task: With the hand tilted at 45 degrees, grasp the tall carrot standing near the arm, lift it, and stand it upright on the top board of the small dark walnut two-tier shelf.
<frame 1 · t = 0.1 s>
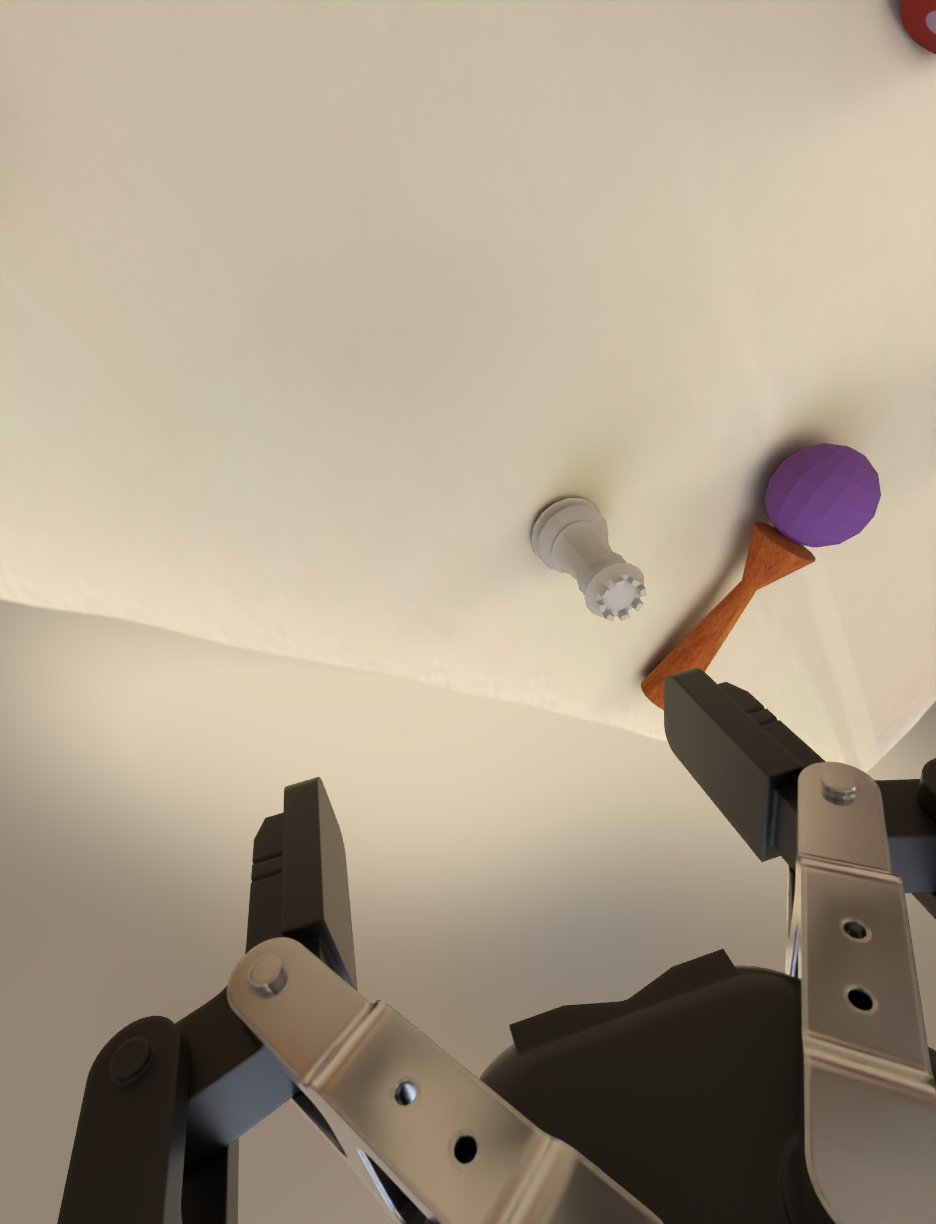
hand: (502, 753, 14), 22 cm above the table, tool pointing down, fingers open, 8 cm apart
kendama: (723, 568, 44), on the table
rook chess piece: (562, 527, 39), on the table
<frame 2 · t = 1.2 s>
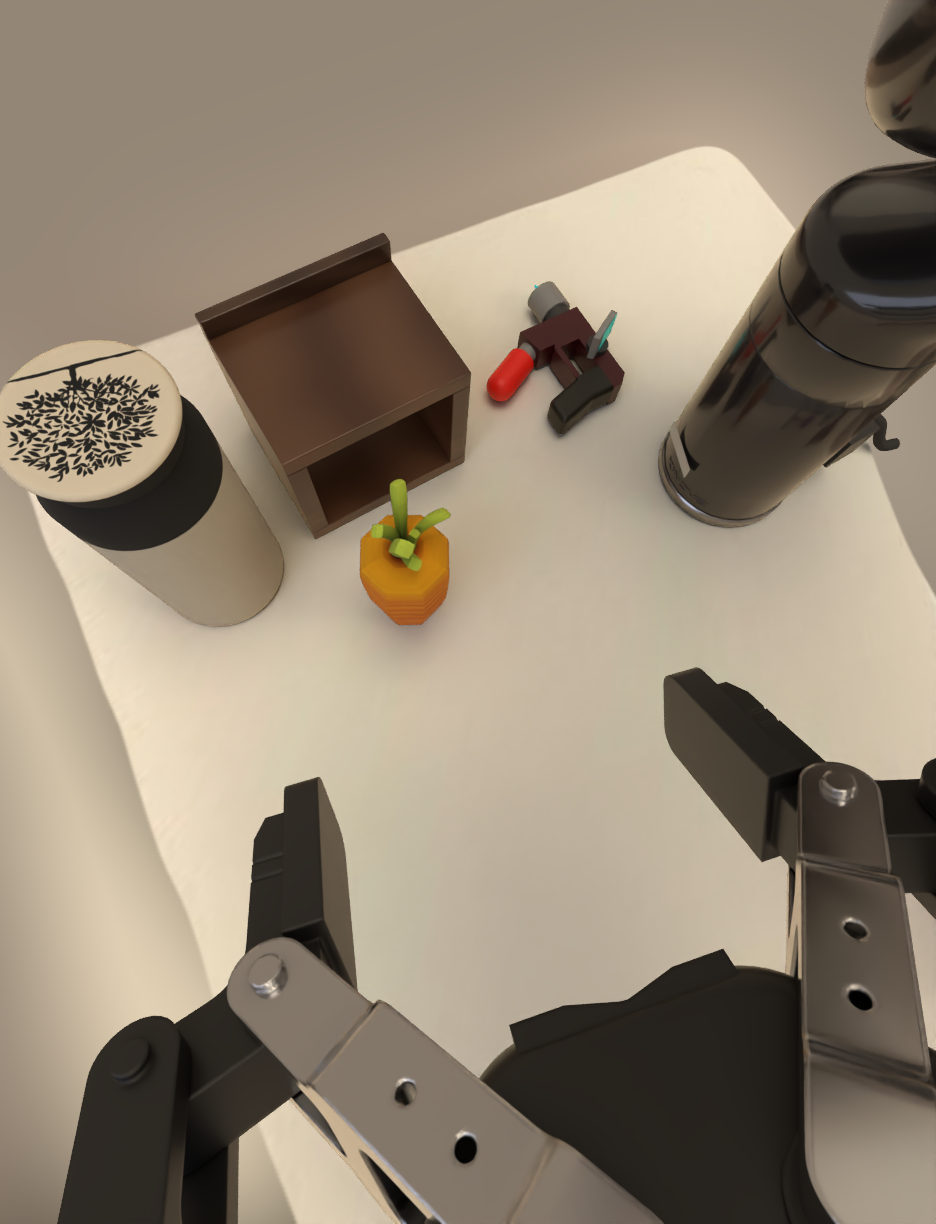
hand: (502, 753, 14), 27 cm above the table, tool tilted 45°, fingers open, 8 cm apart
shelf: (357, 445, 46), on the table
toy gun: (537, 370, 49), on the table
carrot: (412, 614, 43), on the table
travel mug: (225, 571, 43), on the table
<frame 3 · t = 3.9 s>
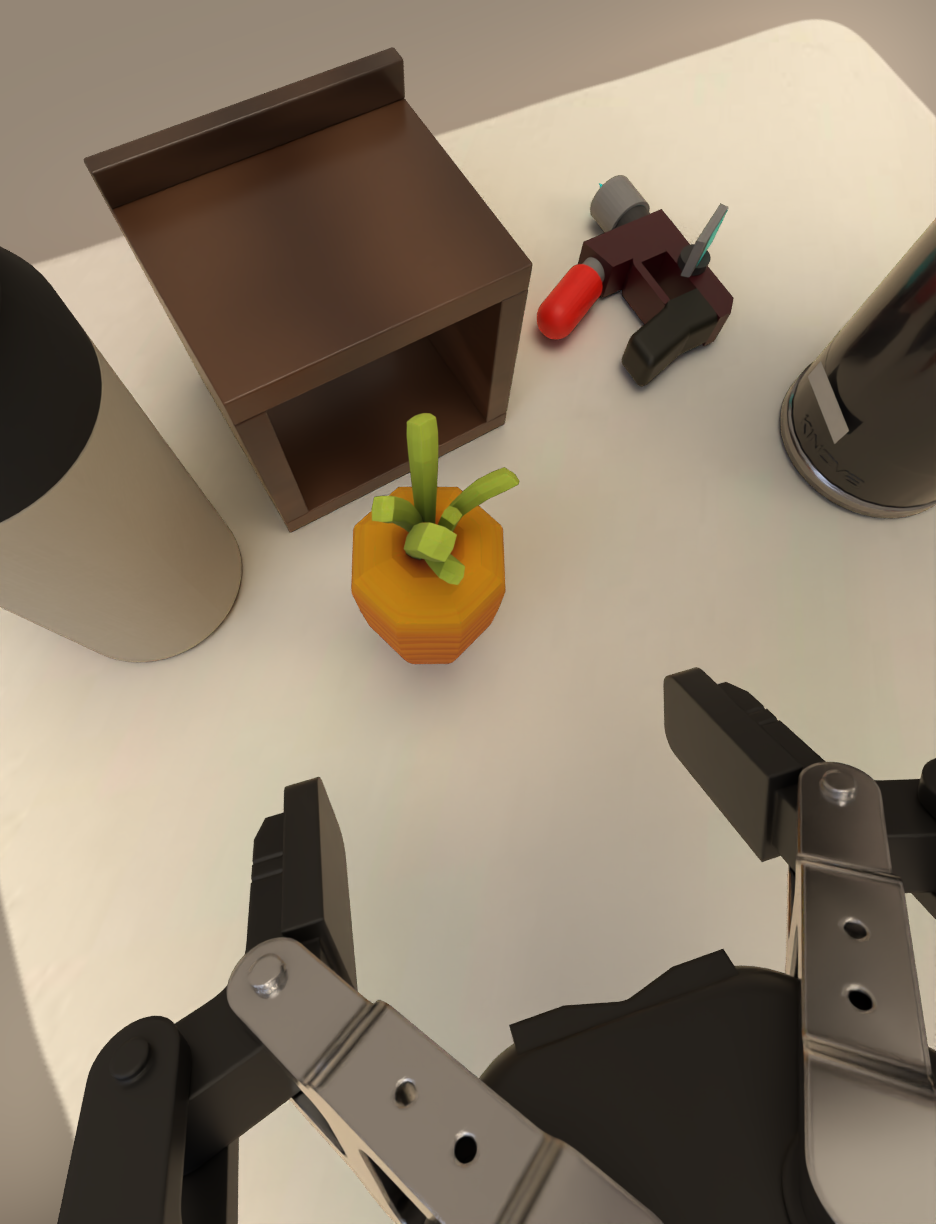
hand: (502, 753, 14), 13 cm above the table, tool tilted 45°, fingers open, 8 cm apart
shelf: (352, 400, 32), on the table
toy gun: (603, 301, 35), on the table
carrot: (431, 644, 29), on the table
travel mug: (156, 579, 29), on the table
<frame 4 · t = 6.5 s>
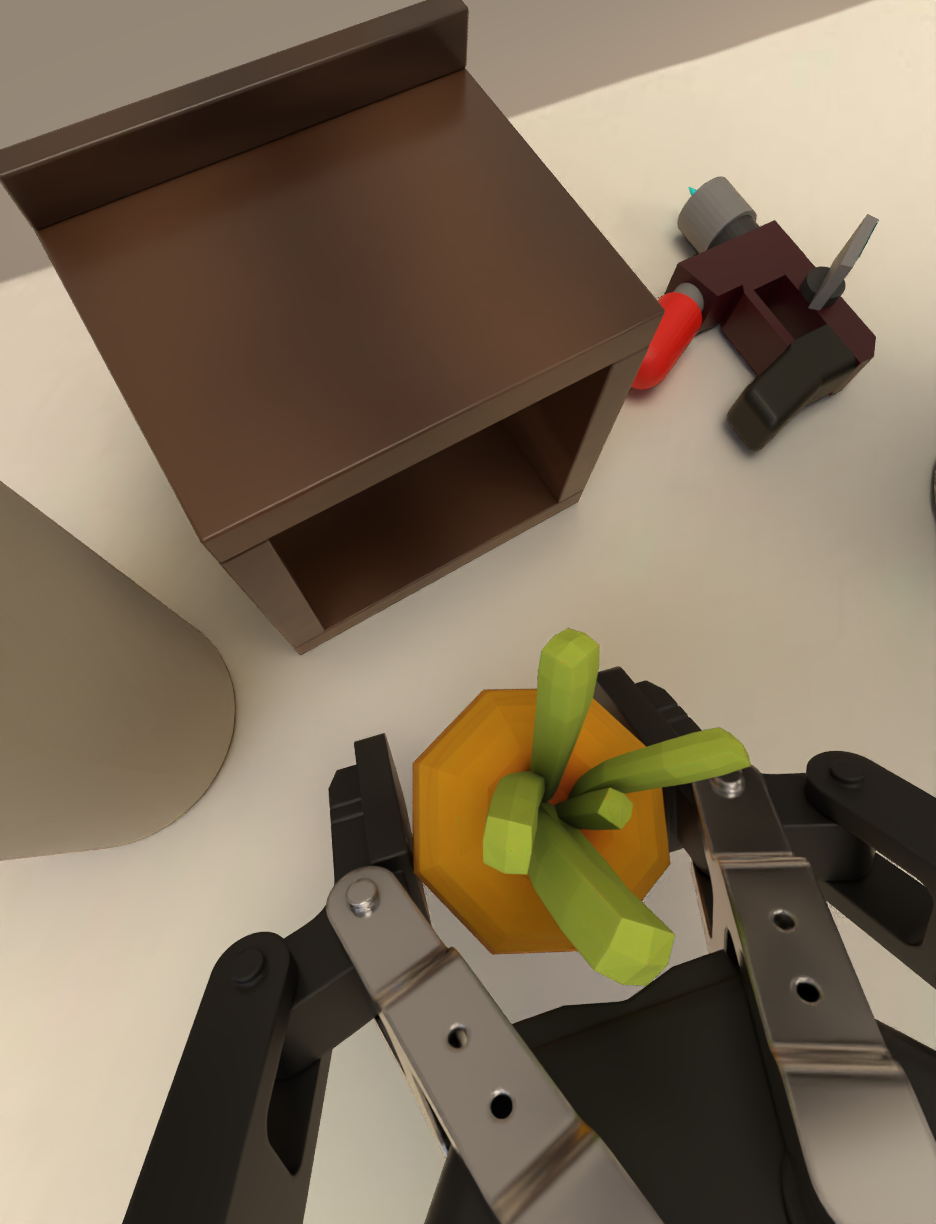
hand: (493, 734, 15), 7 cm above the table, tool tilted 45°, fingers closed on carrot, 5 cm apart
shelf: (380, 470, 25), on the table
toy gun: (696, 337, 28), on the table
carrot: (491, 812, 22), on the table, touching gripper
travel mug: (120, 723, 22), on the table
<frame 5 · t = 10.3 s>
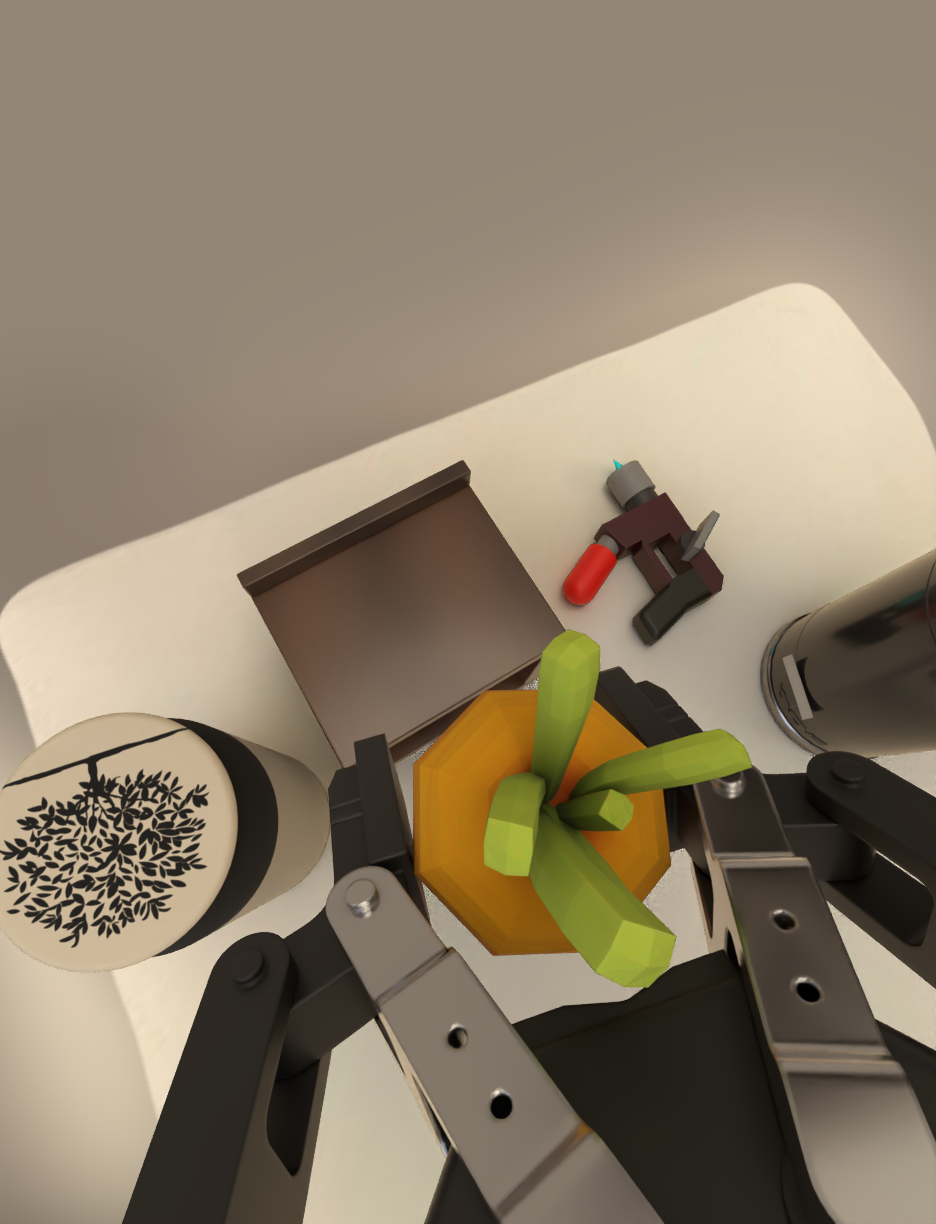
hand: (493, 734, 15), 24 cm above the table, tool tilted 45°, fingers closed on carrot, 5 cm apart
shelf: (413, 658, 40), on the table
toy gun: (617, 560, 43), on the table
carrot: (491, 812, 22), point 17 cm above the table, touching gripper
travel mug: (260, 823, 37), on the table
when the fingers open (17 cm above the table, at t = 14.0 s): carrot stays where it is, resting on shelf.
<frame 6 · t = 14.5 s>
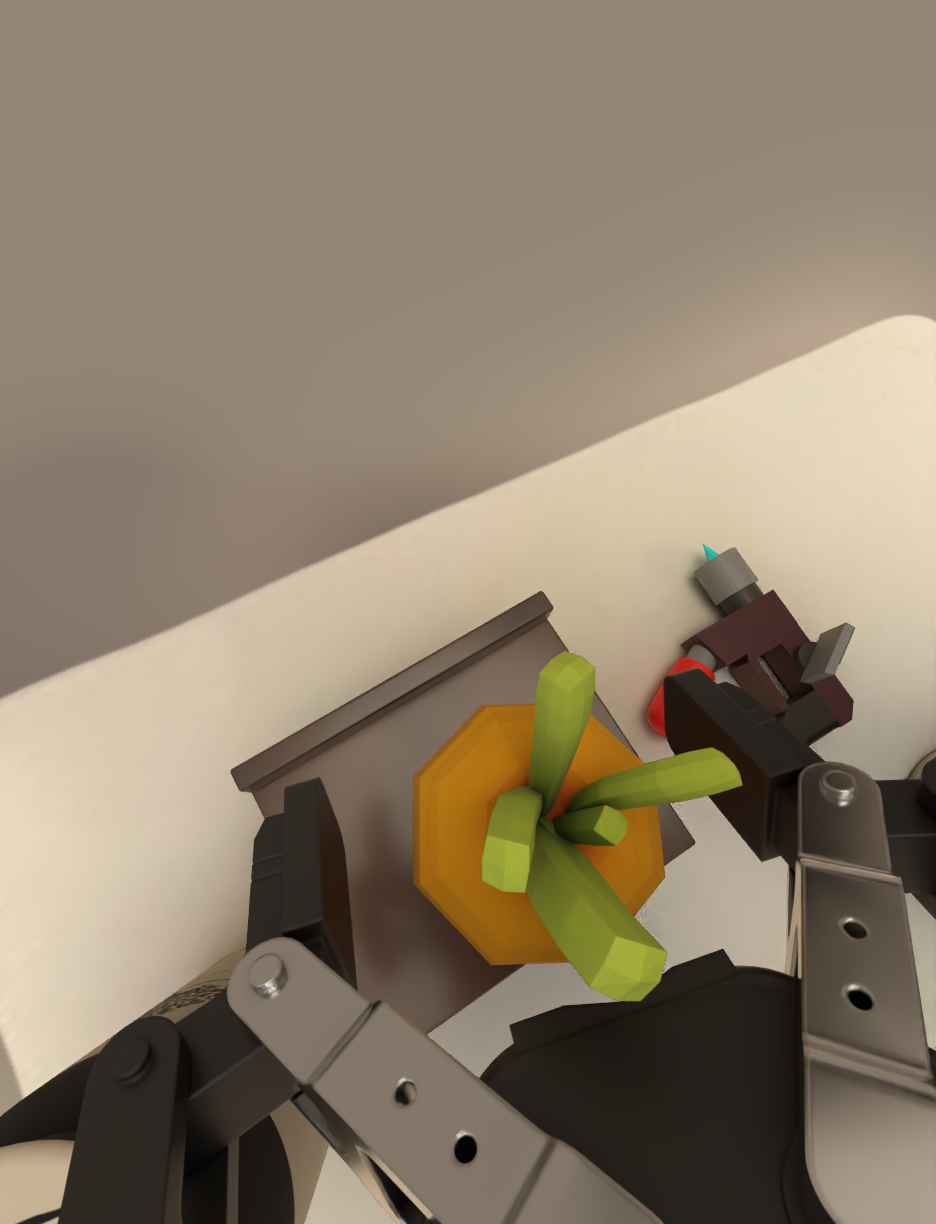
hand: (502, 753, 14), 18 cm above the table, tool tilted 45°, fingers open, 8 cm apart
shelf: (458, 809, 31), on the table
toy gun: (709, 672, 34), on the table
carrot: (489, 819, 22), point 10 cm above the table, touching shelf
travel mug: (265, 1042, 28), on the table
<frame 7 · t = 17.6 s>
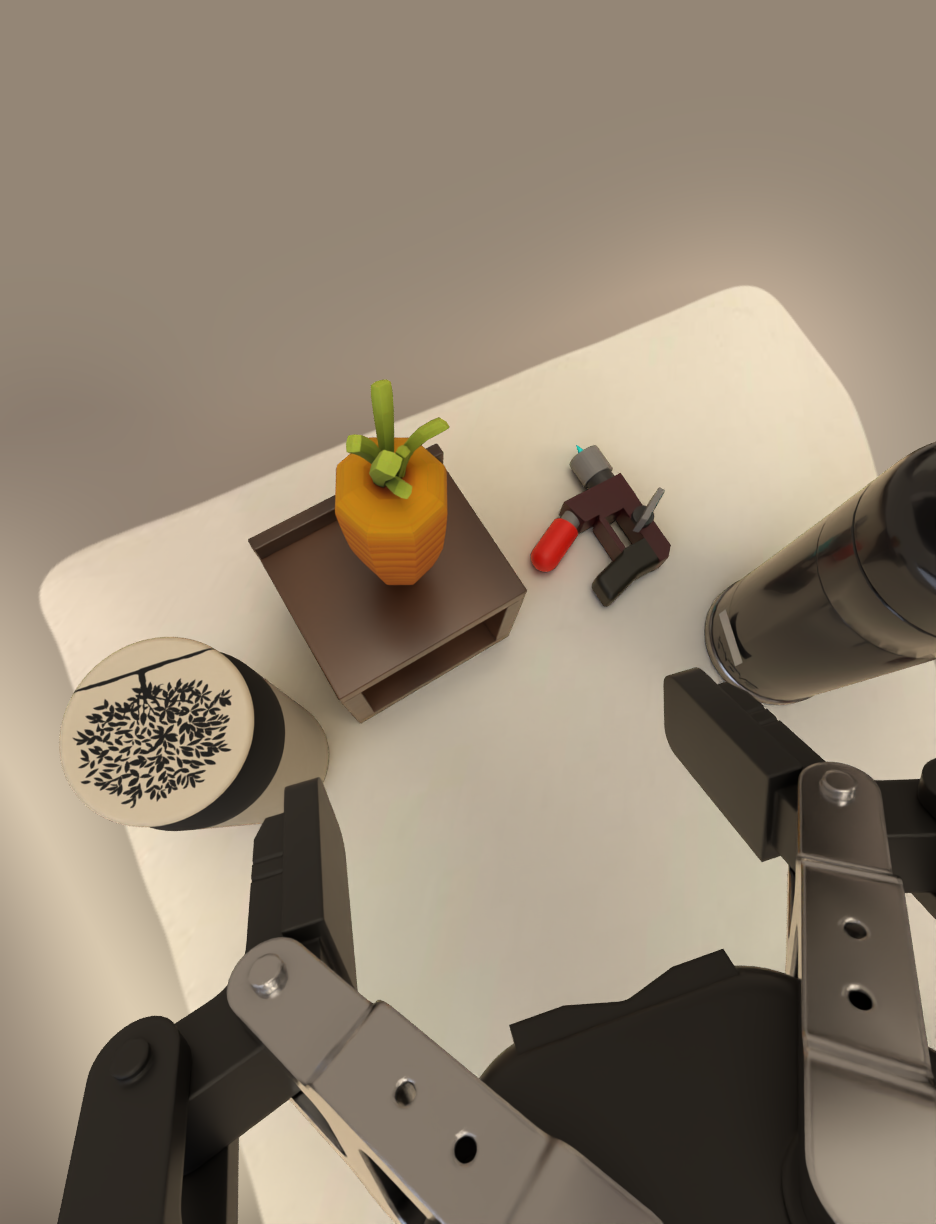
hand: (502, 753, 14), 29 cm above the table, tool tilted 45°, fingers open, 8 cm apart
shelf: (400, 619, 46), on the table
toy gun: (579, 533, 49), on the table
carrot: (403, 577, 36), point 10 cm above the table, touching shelf
travel mug: (269, 760, 43), on the table
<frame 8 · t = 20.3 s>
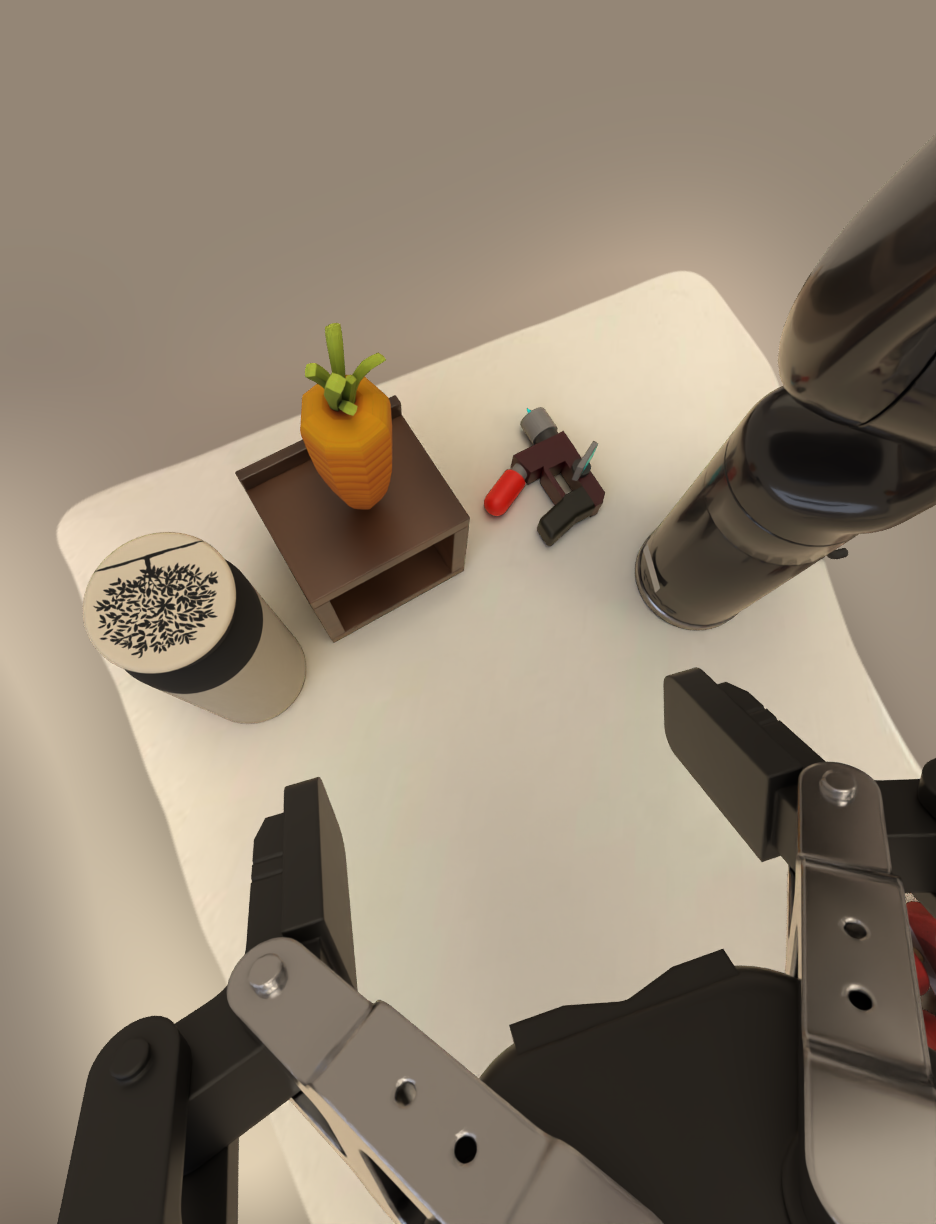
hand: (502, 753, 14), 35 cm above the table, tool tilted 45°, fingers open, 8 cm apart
toy fire truck: (924, 982, 45), on the table
shelf: (370, 556, 53), on the table
toy gun: (528, 485, 56), on the table
carrot: (366, 506, 43), point 10 cm above the table, touching shelf
travel mug: (255, 672, 50), on the table
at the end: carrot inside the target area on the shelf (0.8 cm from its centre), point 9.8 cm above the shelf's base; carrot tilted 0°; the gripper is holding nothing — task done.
